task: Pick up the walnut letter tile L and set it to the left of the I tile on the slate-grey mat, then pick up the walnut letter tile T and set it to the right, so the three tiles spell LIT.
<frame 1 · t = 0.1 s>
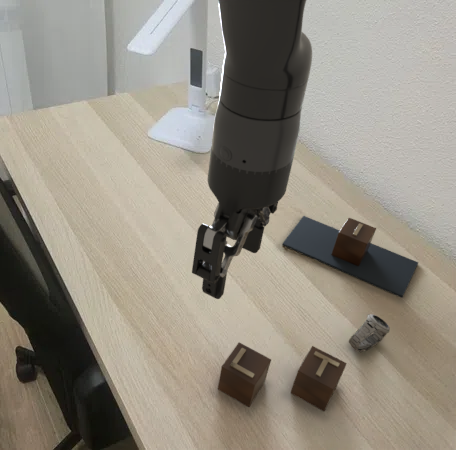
hand: (231, 270, 61), 19 cm above the table, tool pointing down, fingers open, 8 cm apart
tile I: (349, 252, 91), resting on mat
tile T: (313, 389, 72), on the table
mat: (348, 254, 91), on the table
tile L: (241, 385, 72), on the table
grey rough hollow cylinder: (363, 344, 78), on the table
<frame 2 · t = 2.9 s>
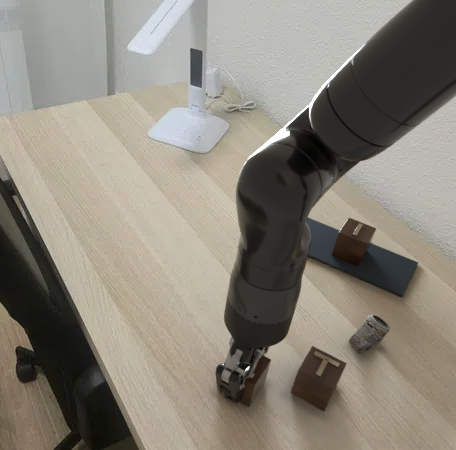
hand: (241, 382, 71), 1 cm above the table, tool pointing down, fingers closed on tile L, 4 cm apart
tile L: (241, 385, 72), on the table, touching gripper
everything else where it was.
when the fingers open (1 cm above the table, at t = 10.5 s): tile L stays where it is, resting on mat.
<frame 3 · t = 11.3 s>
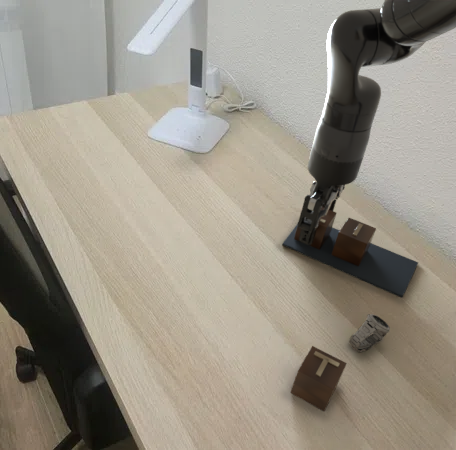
hand: (315, 228, 92), 2 cm above the table, tool pointing down, fingers open, 8 cm apart
tile L: (311, 237, 94), resting on mat
everything else where it was.
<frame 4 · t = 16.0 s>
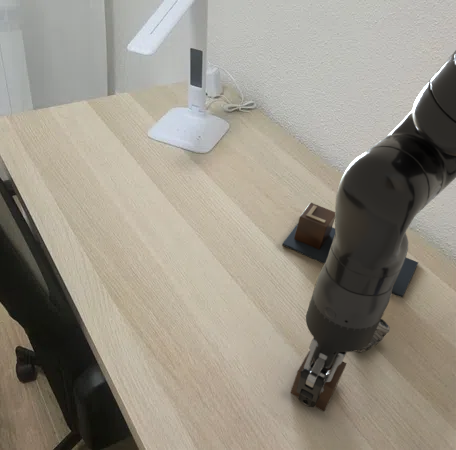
hand: (314, 386, 71), 1 cm above the table, tool pointing down, fingers closed on tile T, 4 cm apart
tile T: (313, 389, 72), on the table, touching gripper
everything else where it was.
when the fingers open (1 cm above the table, at t = 23.4 s): tile T stays where it is, resting on mat.
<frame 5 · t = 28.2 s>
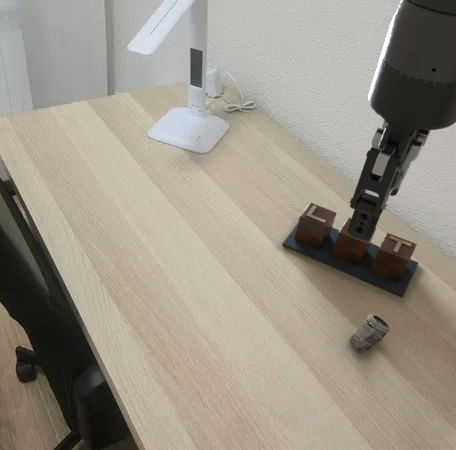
hand: (373, 212, 55), 28 cm above the table, tool pointing down, fingers open, 8 cm apart
tile T: (388, 269, 88), resting on mat
everything else where it was.
at the end: tile L 0.1 cm from the target spot on the mat, point 0.4 cm above the mat's base; tile T 0.1 cm from the target spot on the mat, point 0.4 cm above the mat's base; tile I moved 0.0 cm from its start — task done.
